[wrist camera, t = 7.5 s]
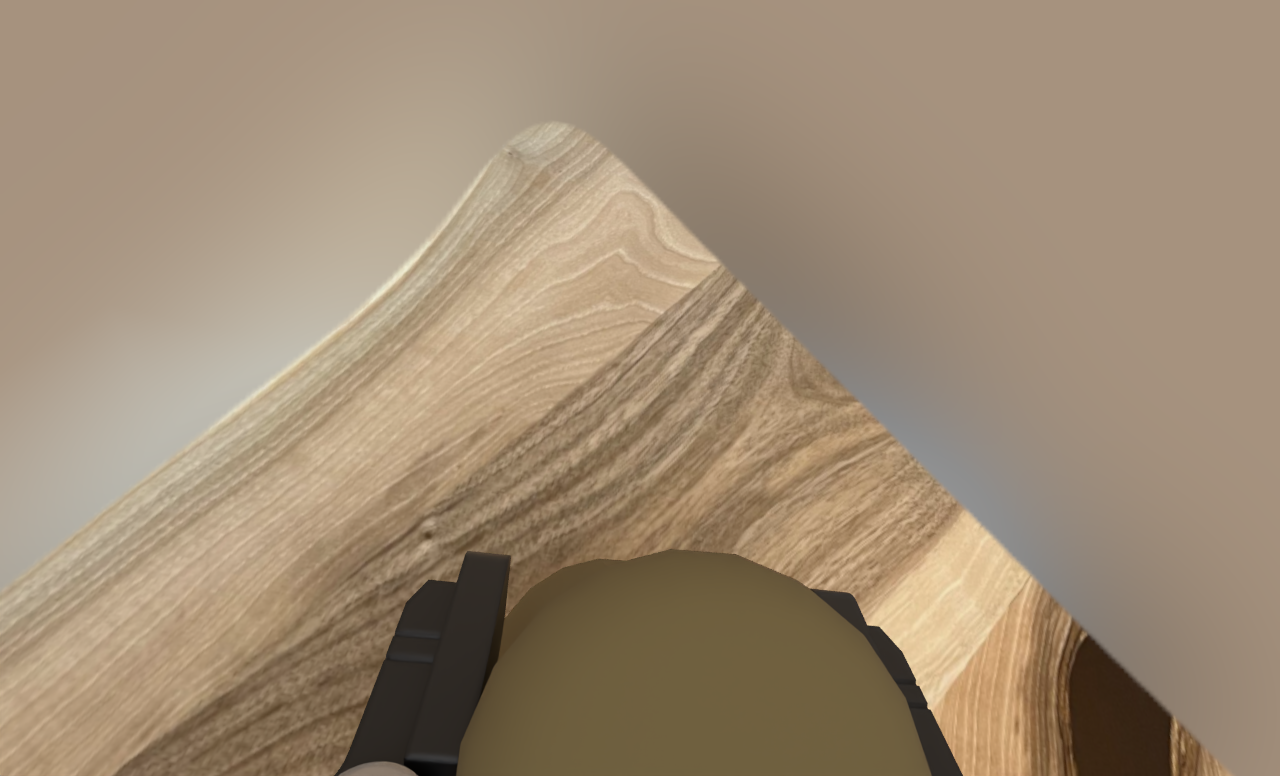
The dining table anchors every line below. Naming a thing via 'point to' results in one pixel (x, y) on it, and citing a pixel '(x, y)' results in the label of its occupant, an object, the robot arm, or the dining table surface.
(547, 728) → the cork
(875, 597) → the dining table surface
